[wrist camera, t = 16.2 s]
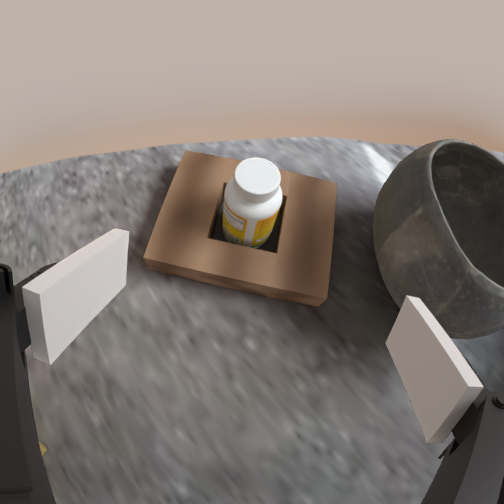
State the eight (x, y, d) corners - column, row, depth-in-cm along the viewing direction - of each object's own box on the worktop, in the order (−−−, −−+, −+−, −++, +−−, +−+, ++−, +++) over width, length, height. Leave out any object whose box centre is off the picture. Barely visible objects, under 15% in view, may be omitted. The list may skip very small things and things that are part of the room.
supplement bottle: (220, 249, 34) (222, 197, 26) (224, 206, 37) (227, 148, 28) (270, 253, 35) (289, 204, 26) (271, 210, 37) (288, 154, 28)
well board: (329, 197, 39) (336, 183, 36) (318, 307, 33) (327, 298, 30) (186, 166, 39) (185, 150, 36) (148, 269, 33) (143, 257, 30)
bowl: (460, 211, 41) (519, 151, 28) (486, 347, 33) (572, 313, 19) (340, 190, 40) (387, 102, 26) (353, 357, 31) (441, 323, 18)
